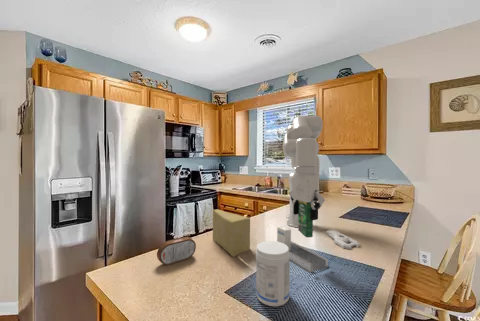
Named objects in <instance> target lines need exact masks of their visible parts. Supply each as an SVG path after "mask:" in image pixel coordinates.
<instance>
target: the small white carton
mask: <svg viewBox="0 0 480 321" xmlns="http://www.w3.org/2000/svg"><path fill="white" fill-rule="evenodd" d="M276 228H277V231H276V235H277V237H276V239H277V240H276V241H277V242H281V243H283V244H285V245H287V246H288V248H289V251H291V241H292V240H291V239H292V229H290V228H288V227H286V226H283V225H281V226H277V227H276Z"/></svg>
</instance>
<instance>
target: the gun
mask: <svg viewBox="0 0 480 321" xmlns="http://www.w3.org/2000/svg"><path fill="white" fill-rule="evenodd" d="M326 234H327V235H328V236H329V237H331V238H332V239H333V242H334V244H335V245H338V246H339V247H340V248H342V249H346V250H352V248H353V247H356V248H359V247H360V242H359V241H357V240H356V239H354V238H352V237H350V236H349V235H345V234H343V233H341V231H340V232H339V231H338V230H336V229H333V230H332V229H331V230H326Z"/></svg>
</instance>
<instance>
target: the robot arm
mask: <svg viewBox="0 0 480 321" xmlns="http://www.w3.org/2000/svg"><path fill="white" fill-rule="evenodd" d="M323 127H324V126H323V119H322V117H321V116H319V115H300V116H296V117H295V118H293V120H292V124H290V125H288V126H287V128H286V133H285V135H284V137H283V141H282V142H283V143H282V150H283V155H284V156H285V157H287V158H290V164H291V165H290V166H291V168H292V169H294V171H293V172H290V173H289V175H288V188H289V191H288V193H289V213H288V214H287V215H286V219H288V220H287V221H286V224H287V226H290V227H293V228H298V201H302V202H307V203H310V205H311V207H312V209H311V220H312V221H313V222H314V221H317V220H318V219H319V209H320V208H321V207H322V206H323V204H324V202H325V198H324V197H323V196H322V195H321V194H320V186H319V184H320V157H319V155H318V154H319V152H320V146H319V145H320V143H318V141H317V140H316V139H318V138H319V137H320V135H321V133H322V130H323Z"/></svg>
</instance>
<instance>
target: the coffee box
mask: <svg viewBox="0 0 480 321" xmlns="http://www.w3.org/2000/svg"><path fill="white" fill-rule="evenodd" d="M311 209H312V207H311V205H310V203H307V202H302V201H298V227H297V230H298V231H299V232H300V233H301V234H302V235H303V236H304V237H305V238H313V237H314V235H313V229H314V228H313V226H314V223H313V222H314V220H313V221H312V220H311Z"/></svg>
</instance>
